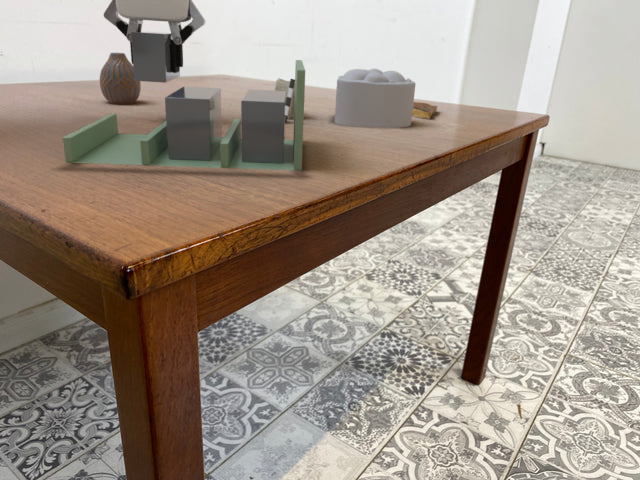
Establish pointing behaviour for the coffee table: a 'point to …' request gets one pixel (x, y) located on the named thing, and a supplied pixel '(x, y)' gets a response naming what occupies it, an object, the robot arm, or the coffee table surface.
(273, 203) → the coffee table surface
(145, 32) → the gray rectangular block
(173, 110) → the clay tablet
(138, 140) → the book rack
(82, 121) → the coffee table surface
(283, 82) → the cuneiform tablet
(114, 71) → the vase
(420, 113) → the brown yellow flat block
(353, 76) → the lumpy-topped squat cylinder
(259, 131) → the clay tablet
